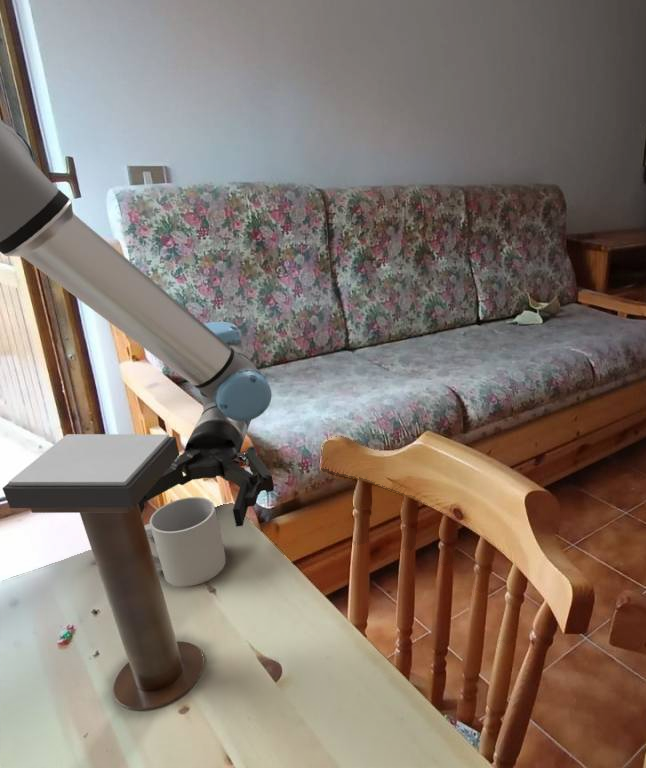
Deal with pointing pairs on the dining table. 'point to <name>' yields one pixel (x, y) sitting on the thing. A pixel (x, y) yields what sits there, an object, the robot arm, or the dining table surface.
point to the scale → (93, 471)
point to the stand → (138, 610)
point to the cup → (187, 541)
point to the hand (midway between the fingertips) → (181, 523)
